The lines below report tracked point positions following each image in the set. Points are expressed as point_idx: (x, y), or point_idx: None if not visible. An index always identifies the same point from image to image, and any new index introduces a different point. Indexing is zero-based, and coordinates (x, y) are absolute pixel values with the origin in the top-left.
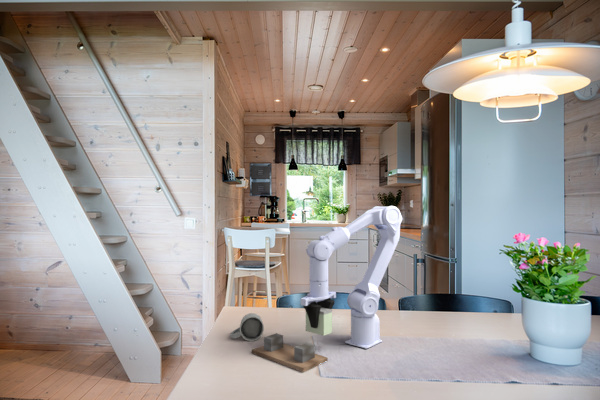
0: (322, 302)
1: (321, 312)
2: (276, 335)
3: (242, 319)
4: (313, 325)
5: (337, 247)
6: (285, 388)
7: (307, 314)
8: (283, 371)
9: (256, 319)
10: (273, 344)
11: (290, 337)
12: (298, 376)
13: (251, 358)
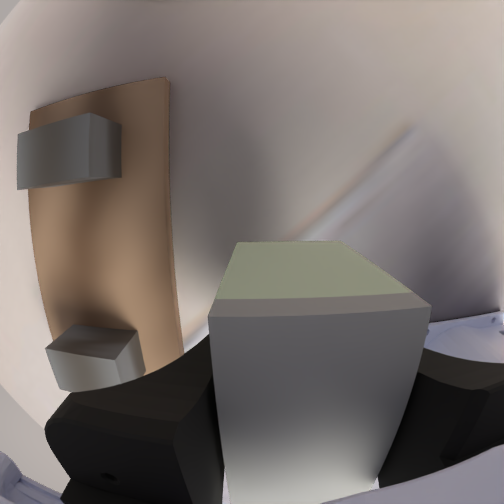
0: (427, 470)
1: (231, 497)
2: (64, 149)
3: None
4: None
5: None
6: (13, 382)
7: (163, 367)
8: (33, 327)
9: None
10: (46, 186)
11: (309, 54)
12: (53, 378)
13: (13, 162)
